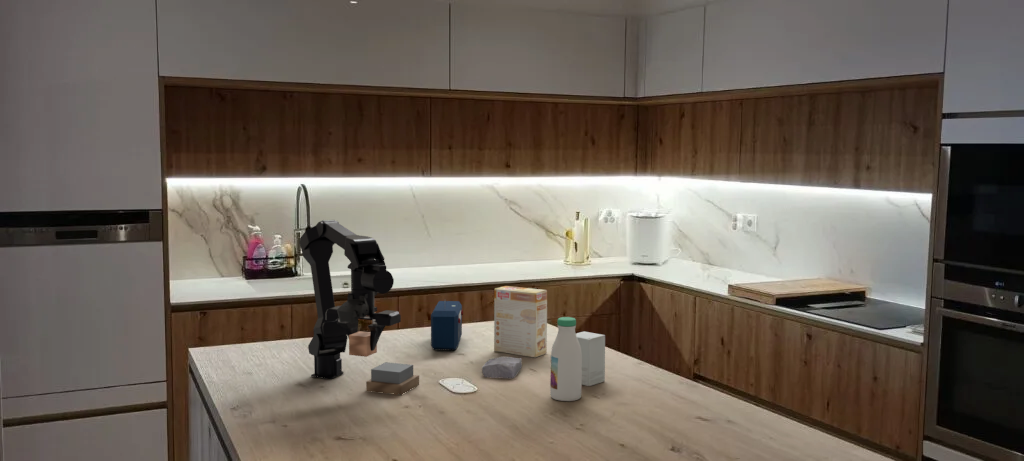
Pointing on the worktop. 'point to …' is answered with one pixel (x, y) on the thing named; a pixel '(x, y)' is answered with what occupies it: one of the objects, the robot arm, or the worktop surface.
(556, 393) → the milk bottle
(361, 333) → the terracotta cube
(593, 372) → the supplement box
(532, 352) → the coffeecake box
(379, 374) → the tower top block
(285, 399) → the worktop surface
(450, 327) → the radio
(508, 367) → the stone block
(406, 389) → the tower base block
